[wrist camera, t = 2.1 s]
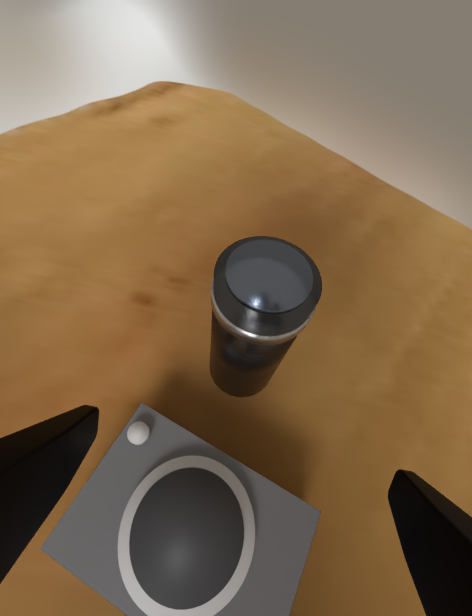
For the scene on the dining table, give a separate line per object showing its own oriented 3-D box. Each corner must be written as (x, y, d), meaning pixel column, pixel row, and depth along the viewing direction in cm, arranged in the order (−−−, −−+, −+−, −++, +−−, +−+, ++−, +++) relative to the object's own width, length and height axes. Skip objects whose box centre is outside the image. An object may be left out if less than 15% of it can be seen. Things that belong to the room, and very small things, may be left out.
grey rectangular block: (303, 507, 19) (326, 512, 15) (248, 670, 15) (261, 731, 12) (150, 413, 21) (139, 399, 18) (68, 537, 17) (30, 552, 14)
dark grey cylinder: (282, 354, 25) (340, 258, 14) (255, 411, 22) (301, 345, 12) (228, 326, 26) (244, 216, 15) (196, 377, 23) (188, 288, 12)
